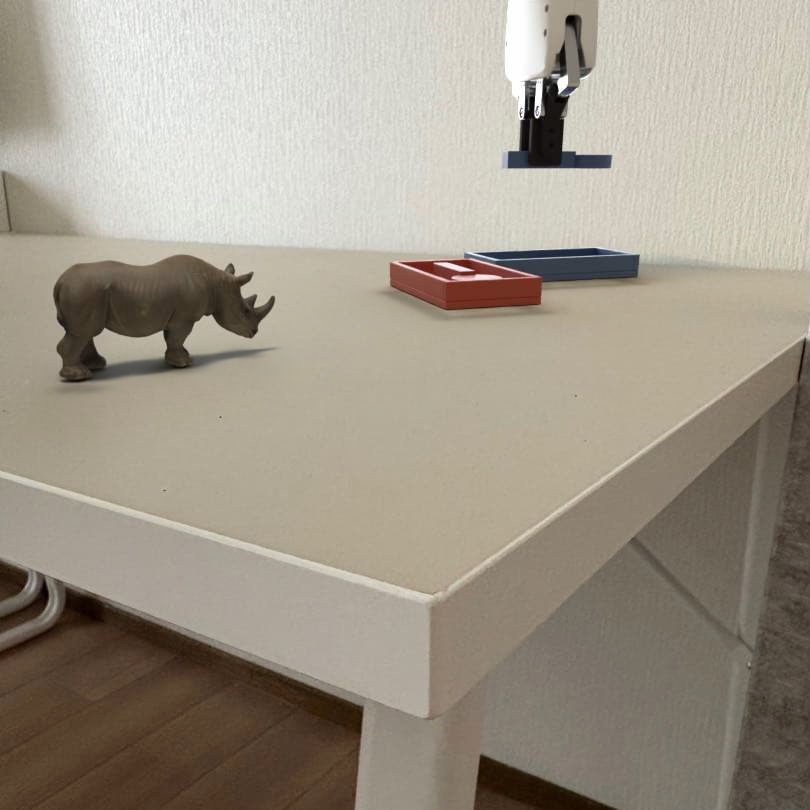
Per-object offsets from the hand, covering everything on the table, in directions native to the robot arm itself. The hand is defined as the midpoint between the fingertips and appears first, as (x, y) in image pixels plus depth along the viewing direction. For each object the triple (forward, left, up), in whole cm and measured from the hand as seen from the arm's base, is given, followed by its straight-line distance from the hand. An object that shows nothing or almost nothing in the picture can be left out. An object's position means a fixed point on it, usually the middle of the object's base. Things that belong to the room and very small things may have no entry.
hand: (539, 164), depth 83 cm
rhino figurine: (+37, +29, -10) cm, 48 cm away
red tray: (+11, +9, -10) cm, 18 cm away
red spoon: (+11, +9, -10) cm, 17 cm away
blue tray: (-2, 0, -10) cm, 10 cm away
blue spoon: (-1, 0, 0) cm, 1 cm away
